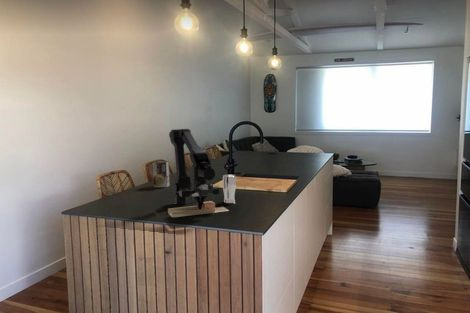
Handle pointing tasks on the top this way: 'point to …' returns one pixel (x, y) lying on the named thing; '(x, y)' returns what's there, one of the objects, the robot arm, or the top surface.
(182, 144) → the robot arm
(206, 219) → the top surface
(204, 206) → the block
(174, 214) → the beige open frame tray
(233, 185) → the beer glass
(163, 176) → the coffee box
